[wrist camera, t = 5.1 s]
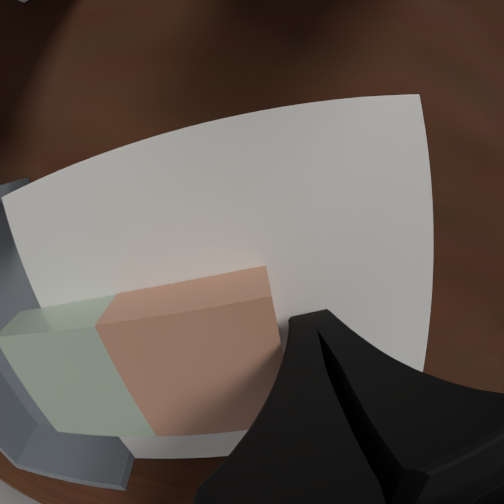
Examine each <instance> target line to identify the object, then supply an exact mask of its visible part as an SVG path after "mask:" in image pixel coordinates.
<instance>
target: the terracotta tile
mask: <svg viewBox="0 0 504 504" xmlns="http://www.w3.org/2000/svg"><path fill="white" fill-rule="evenodd" d="M95 328H96V330H97V332H98V334H99V336H100V338H101V340H102V342H103V344H104V346H105V348H106V350H107V352H108V354H109V356H110V358H111V360H112V362H113V364H114V366H115V367H116V369H117V371H118V373H119V375H120V377H121V378H122V380H123V382H124V384H125V385H126V387H127V389H128V391H129V392H130V394H131V396H132V398H133V399H134V401H135V403H136V404H137V406H138V408H139V409H140V411H141V412H142V414H143V416H144V417H145V419H146V420H147V422H148V423H149V425H150V427H151V428H152V430H153V431H154V433H155V434H156V436H185V435H202V434H214V433H225V432H234V431H242V430H249V428H250V427H251V425H252V424H253V422H254V420H255V419H256V417H257V415H258V414H259V412H260V410H261V409H262V407H263V405H264V403H265V401H266V399H267V397H268V395H269V393H270V391H271V389H272V387H273V384H274V382H275V380H276V377H277V374H278V371H279V368H280V366H281V363H282V360H283V356H284V354H283V349H282V343H281V338H280V333H279V328H278V323H277V318H276V313H275V308H274V303H273V298H272V293H271V288H270V283H269V278H268V273H267V268H266V265H264V266H259V267H254V268H249V269H244V270H239V271H234V272H229V273H224V274H219V275H214V276H208V277H203V278H198V279H193V280H188V281H182V282H177V283H172V284H166V285H161V286H156V287H150V288H145V289H139V290H134V291H129V292H123V293H118V294H117V295H116V296H115V297H114V299H113V300H112V301H111V303H110V304H109V306H108V307H107V308H106V310H105V311H104V312H103V314H102V315H101V317H100V318H99V320H98V321H97V322H96V324H95Z"/></svg>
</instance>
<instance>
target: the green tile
mask: <svg viewBox="0 0 504 504" xmlns="http://www.w3.org/2000/svg"><path fill="white" fill-rule="evenodd" d="M115 296H116V295H112V296H106V297H101V298H95V299H89V300H84V301H78V302H72V303H66V304H60V305H55V306H49V307H43V308H37V309H31V310H25V311H20V312H19V313H18V314H17V315H16V316H15V317H14V318H13V319H12V320H11V321H10V322H9V323H8V324H7V325H6V326H5V327H4V328H3V329H2V330H1V331H0V348H1V350H2V351H3V353H4V355H5V357H6V358H7V360H8V362H9V363H10V365H11V367H12V368H13V370H14V371H15V373H16V375H17V376H18V378H19V379H20V381H21V382H22V384H23V385H24V387H25V388H26V390H27V391H28V393H29V394H30V396H31V397H32V399H33V400H34V401H35V403H36V404H37V406H38V407H39V408H40V410H41V411H42V412H43V414H44V415H45V416H46V418H47V419H48V420H49V422H50V423H51V424H52V425H53V427H54V428H55V429H56V430H57V432H66V433H75V434H86V435H99V436H118V437H158V436H156V434H155V433H154V431H153V430H152V428H151V427H150V425H149V423H148V422H147V420H146V419H145V417H144V416H143V414H142V412H141V411H140V409H139V408H138V406H137V404H136V403H135V401H134V399H133V398H132V396H131V394H130V392H129V391H128V389H127V387H126V385H125V384H124V382H123V380H122V378H121V377H120V375H119V373H118V371H117V369H116V367H115V366H114V364H113V362H112V360H111V358H110V356H109V354H108V352H107V350H106V348H105V346H104V344H103V342H102V340H101V338H100V336H99V334H98V332H97V330H96V328H95V324H96V322H97V321H98V320H99V318H100V317H101V315H102V314H103V312H104V311H105V310H106V308H107V307H108V306H109V304H110V303H111V301H112V300H113V299H114V297H115Z"/></svg>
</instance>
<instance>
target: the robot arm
mask: <svg viewBox="0 0 504 504" xmlns="http://www.w3.org/2000/svg"><path fill="white" fill-rule="evenodd" d="M288 323H289V330H288V338H287V344H286V348H285V352H284V356H283V360H282V363H281V366H280V368H279V371H278V374H277V377H276V380H275V382H274V384H273V387H272V389H271V391H270V393H269V395H268V397H267V399H266V401H265V403H264V405H263V407H262V409H261V410H260V412H259V414H258V415H257V417H256V419H255V420H254V422H253V424H252V425H251V427H250V428H249V430H248V431H247V432H246V434H245V435H244V436H243V438H242V439H241V440H240V442H239V443H238V444H237V445H236V447H235V448H234V449H233V451H232V452H231V453H230V454H229V455H228V457H227V458H226V459H225V460H224V461H223V462H222V463H221V464H220V465H219V466H218V467H217V468H216V469H215V470H214V471H213V472H212V473H211V474H210V475H209V476H208V477H207V478H206V479H205V480H204V481H203V482H202V483H201V484H200V485H199V486H198V488H197V491H196V493H195V496H194V499H193V502H192V504H504V393H497V392H490V391H483V390H478V389H474V388H470V387H466V386H462V385H458V384H454V383H451V382H448V381H445V380H442V379H439V378H436V377H434V376H431V375H428V374H426V373H423V372H421V371H419V370H416V369H414V368H412V367H410V366H408V365H406V364H404V363H402V362H400V361H398V360H396V359H394V358H392V357H391V356H389V355H387V354H386V353H384V352H382V351H381V350H379V349H378V348H376V347H375V346H373V345H372V344H370V343H369V342H368V341H366V340H365V339H364V338H362V337H361V336H359V335H358V334H357V333H355V332H354V331H353V330H352V329H350V328H349V327H348V326H347V325H346V324H344V323H343V322H342V321H341V320H340V319H338V318H337V317H336V316H335V315H334V314H333V313H332V312H331V311H329V310H328V309H324V310H320V311H315V312H310V313H306V314H301V315H296V316H291V317H290V318H289V320H288Z"/></svg>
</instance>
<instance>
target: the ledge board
mask: <svg viewBox="0 0 504 504" xmlns="http://www.w3.org/2000/svg"><path fill="white" fill-rule="evenodd" d="M1 198H2V201H3V205H4V209H5V212H6V216H7V219H8V223H9V226H10V229H11V232H12V235H13V238H14V241H15V244H16V247H17V250H18V253H19V256H20V258H21V261H22V264H23V266H24V269H25V271H26V274H27V277H28V279H29V281H30V284H31V286H32V289H33V291H34V293H35V296H36V298H37V300H38V302H39V305H40V307H41V308H43V307H49V306H55V305H60V304H66V303H72V302H78V301H84V300H89V299H95V298H101V297H106V296H112V295H117V294H118V293H123V292H129V291H134V290H139V289H145V288H150V287H156V286H161V285H166V284H172V283H177V282H182V281H188V280H193V279H198V278H203V277H208V276H214V275H219V274H224V273H229V272H234V271H239V270H244V269H249V268H254V267H259V266H264V265H266V268H267V273H268V278H269V283H270V288H271V293H272V298H273V303H274V308H275V313H276V318H277V323H278V328H279V333H280V338H281V343H282V349H283V354H284V352H285V348H286V344H287V338H288V330H289V323H288V320H289V318H290V317H291V316H296V315H301V314H306V313H310V312H315V311H320V310H324V309H328V310H329V311H331V312H332V313H333V314H334V315H335V316H336V317H337V318H338V319H340V320H341V321H342V322H343V323H344V324H346V325H347V326H348V327H349V328H350V329H352V330H353V331H354V332H355V333H357V334H358V335H359V336H361V337H362V338H364V339H365V340H366V341H368V342H369V343H370V344H372V345H373V346H375V347H376V348H378V349H379V350H381V351H382V352H384V353H386V354H387V355H389V356H391V357H392V358H394V359H396V360H398V361H400V362H402V363H404V364H406V365H408V366H410V367H412V368H414V369H416V370H419V371H421V372H423V367H424V361H425V354H426V347H427V339H428V330H429V321H430V310H431V297H432V280H433V206H432V188H431V175H430V165H429V155H428V147H427V139H426V132H425V125H424V119H423V113H422V107H421V102H420V96H419V94H416V95H388V96H371V97H358V98H347V99H338V100H329V101H320V102H312V103H305V104H298V105H292V106H285V107H279V108H273V109H268V110H262V111H257V112H252V113H247V114H242V115H237V116H232V117H228V118H223V119H219V120H214V121H210V122H206V123H202V124H198V125H194V126H190V127H186V128H183V129H179V130H175V131H172V132H168V133H165V134H161V135H158V136H154V137H151V138H148V139H145V140H141V141H138V142H135V143H132V144H129V145H126V146H123V147H120V148H117V149H114V150H111V151H108V152H106V153H103V154H100V155H97V156H95V157H92V158H89V159H87V160H84V161H82V162H79V163H76V164H74V165H71V166H69V167H67V168H64V169H62V170H59V171H57V172H55V173H52V174H50V175H48V176H45V177H43V178H41V179H39V180H36V181H34V182H32V183H30V184H28V185H26V186H23V187H21V188H19V189H17V190H15V191H13V192H11V193H9V194H7V195H5V196H3V197H1ZM247 431H248V430H242V431H234V432H225V433H214V434H202V435H185V436H158V437H119V438H120V439H121V440H122V442H123V443H124V444H125V446H126V447H127V448H128V449H129V451H130V452H131V453H132V454H133V456H134V457H135V458H154V459H176V458H204V457H219V456H228V455H229V454H230V453H231V452H232V451H233V449H234V448H235V447H236V445H237V444H238V443H239V442H240V440H241V439H242V438H243V436H244V435H245V434H246V432H247Z"/></svg>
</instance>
